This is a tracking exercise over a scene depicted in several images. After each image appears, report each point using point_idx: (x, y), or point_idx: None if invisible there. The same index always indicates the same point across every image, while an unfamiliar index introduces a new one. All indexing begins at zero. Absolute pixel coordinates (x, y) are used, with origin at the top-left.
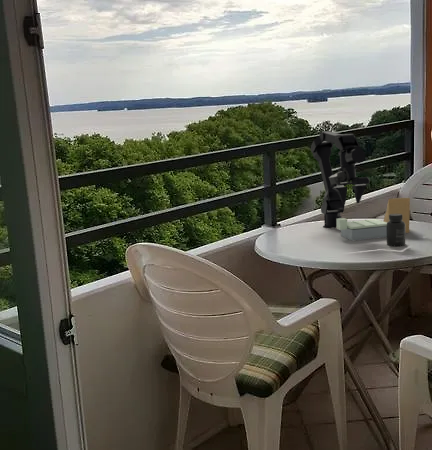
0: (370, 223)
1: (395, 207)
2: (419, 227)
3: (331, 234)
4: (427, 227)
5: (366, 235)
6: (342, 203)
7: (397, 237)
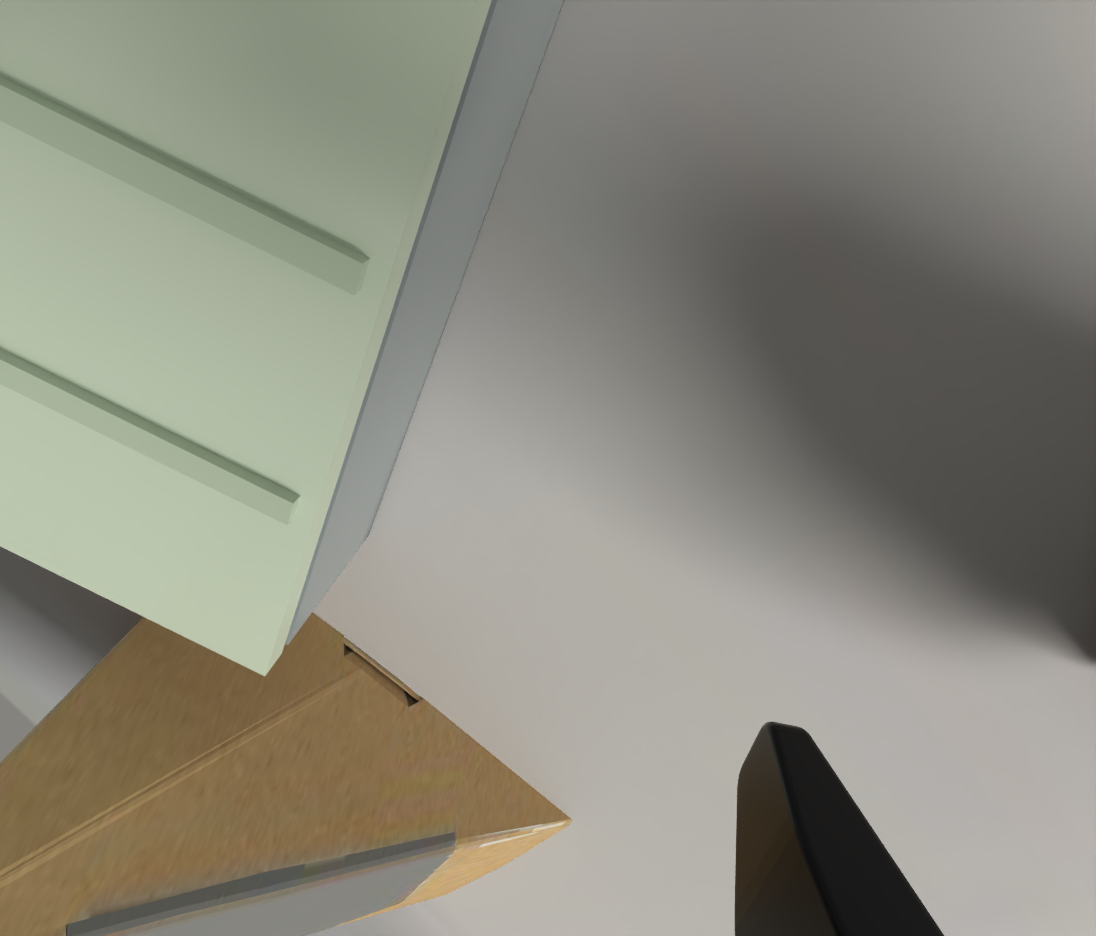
0: (13, 320)
1: None
2: None
3: (924, 41)
4: None
5: None
6: (806, 734)
7: None
